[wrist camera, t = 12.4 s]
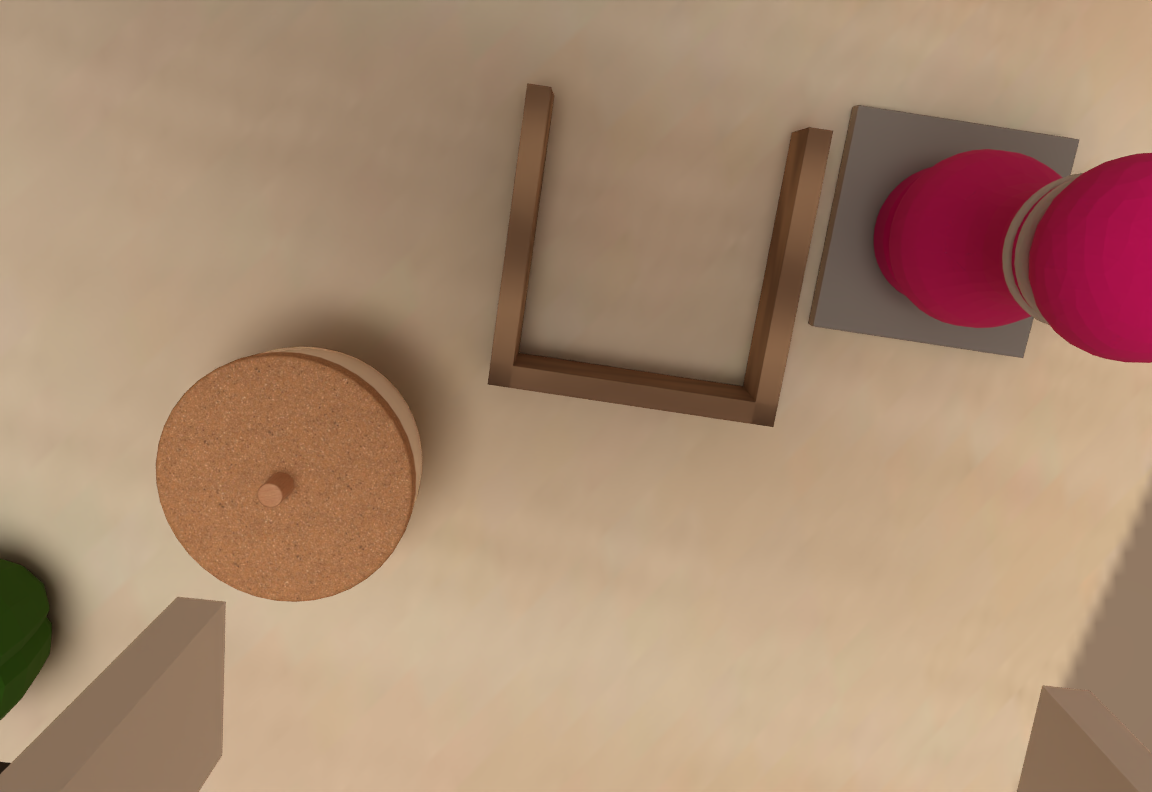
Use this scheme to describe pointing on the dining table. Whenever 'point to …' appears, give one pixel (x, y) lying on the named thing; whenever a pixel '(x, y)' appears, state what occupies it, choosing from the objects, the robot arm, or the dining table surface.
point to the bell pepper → (21, 632)
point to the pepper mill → (1027, 247)
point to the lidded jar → (290, 472)
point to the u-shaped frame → (648, 388)
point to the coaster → (866, 178)
